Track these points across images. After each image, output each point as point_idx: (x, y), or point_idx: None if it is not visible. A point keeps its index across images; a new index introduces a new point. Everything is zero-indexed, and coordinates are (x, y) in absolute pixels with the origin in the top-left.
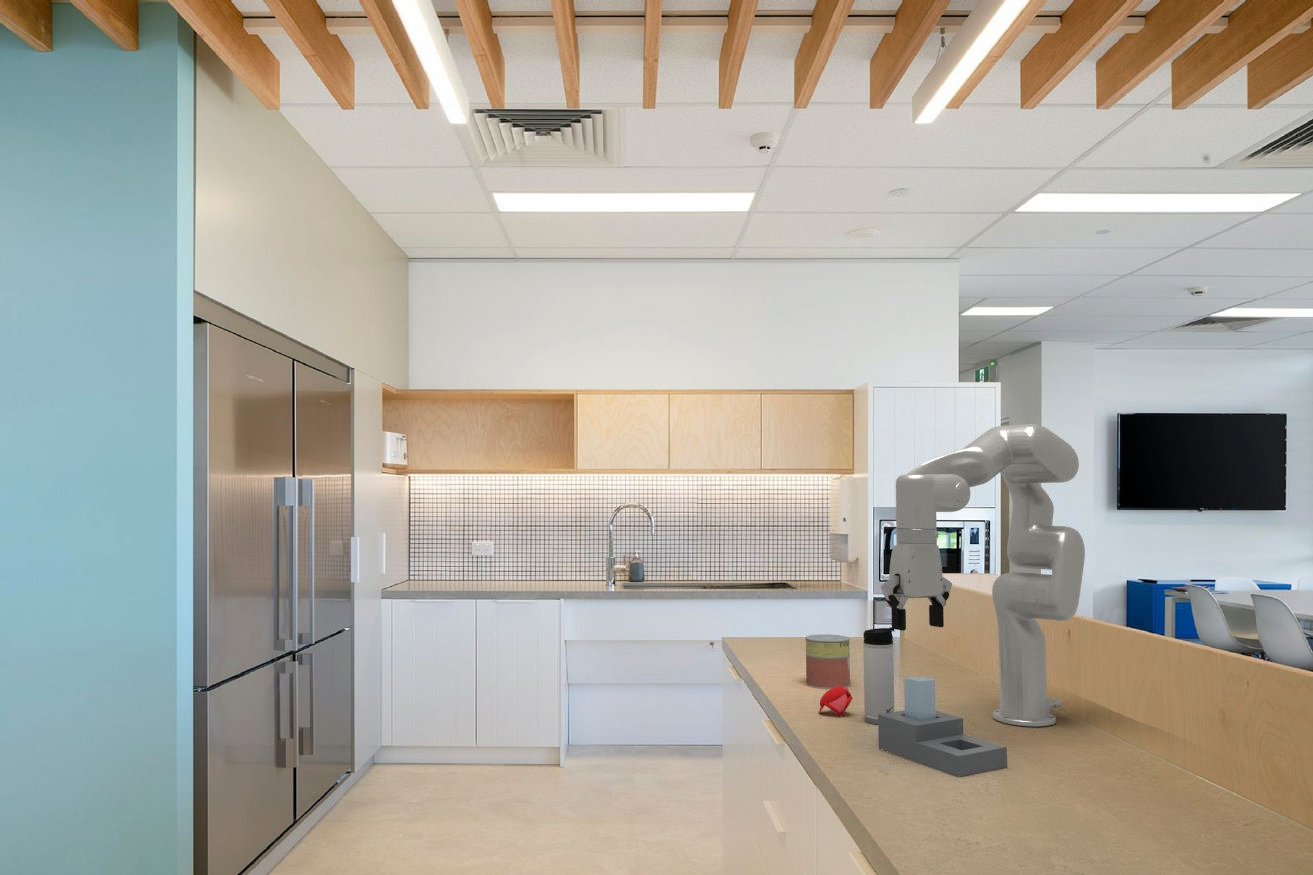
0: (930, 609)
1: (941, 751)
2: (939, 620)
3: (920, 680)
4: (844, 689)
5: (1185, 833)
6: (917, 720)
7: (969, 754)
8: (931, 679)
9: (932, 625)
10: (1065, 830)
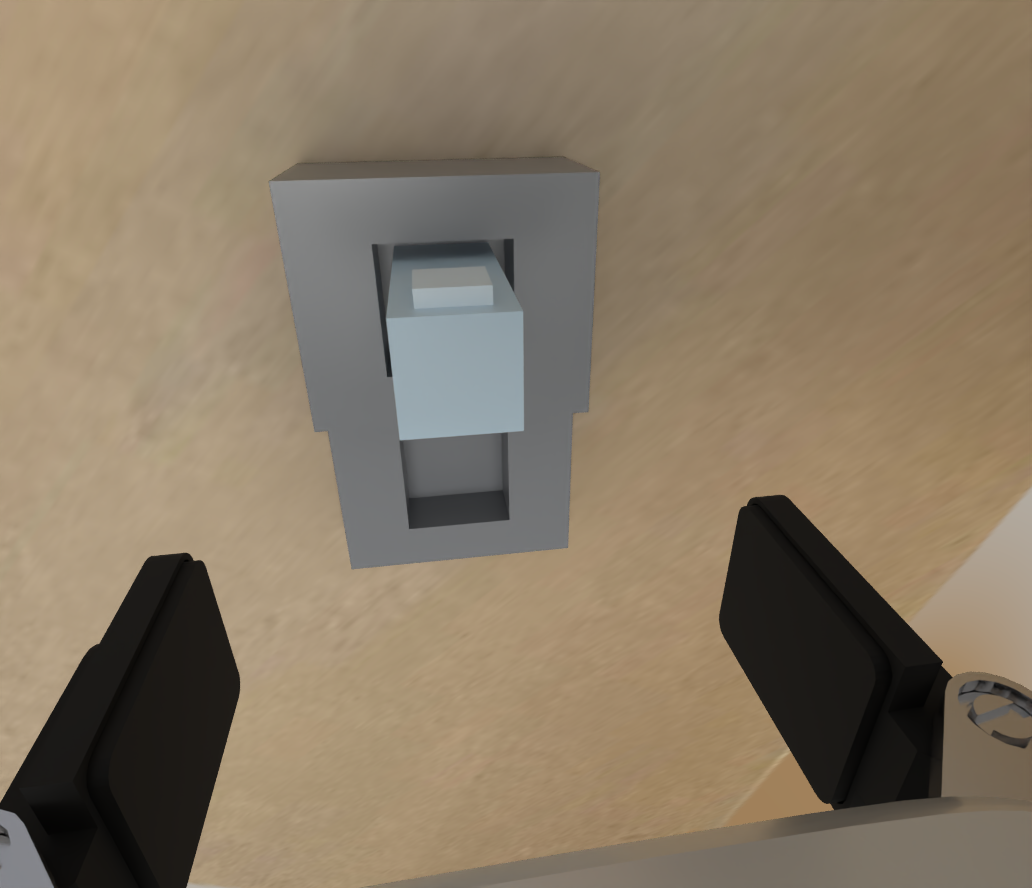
0: (841, 646)
1: (342, 508)
2: (747, 663)
3: (430, 417)
4: None
5: (505, 843)
6: (379, 368)
7: (400, 563)
8: (509, 420)
9: (736, 537)
10: (323, 804)
